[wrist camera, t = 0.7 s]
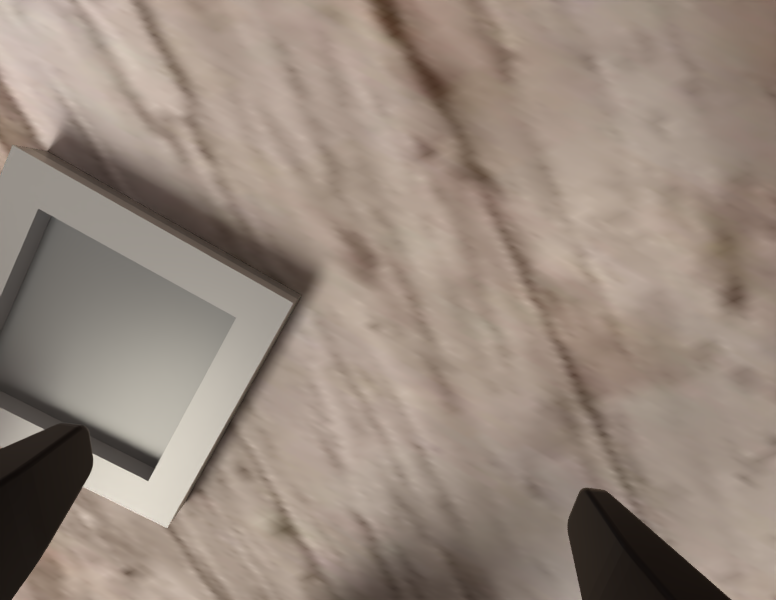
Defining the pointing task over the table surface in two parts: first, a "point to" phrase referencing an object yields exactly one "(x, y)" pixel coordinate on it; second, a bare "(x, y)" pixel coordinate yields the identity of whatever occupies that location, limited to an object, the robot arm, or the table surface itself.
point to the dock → (123, 331)
